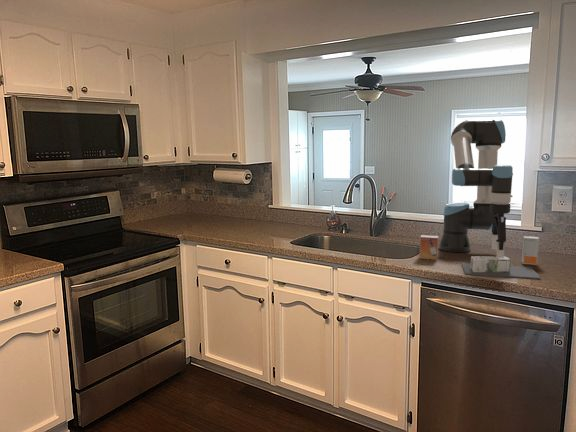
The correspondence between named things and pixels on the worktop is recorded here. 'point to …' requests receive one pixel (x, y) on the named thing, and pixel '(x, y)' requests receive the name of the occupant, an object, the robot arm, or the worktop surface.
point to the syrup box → (490, 264)
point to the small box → (428, 247)
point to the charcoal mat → (514, 273)
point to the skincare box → (530, 250)
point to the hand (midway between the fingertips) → (497, 253)
